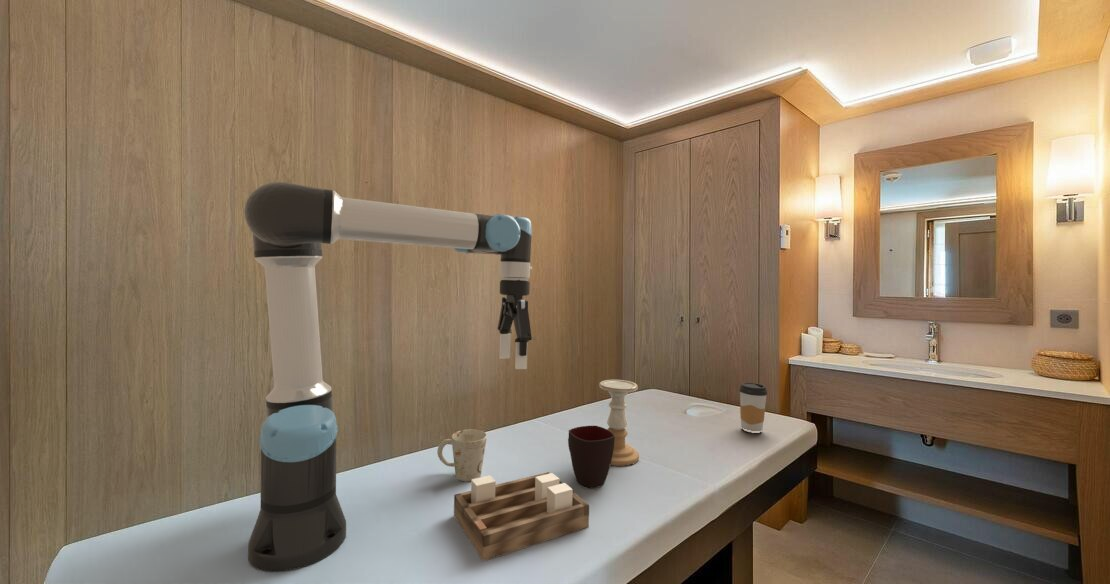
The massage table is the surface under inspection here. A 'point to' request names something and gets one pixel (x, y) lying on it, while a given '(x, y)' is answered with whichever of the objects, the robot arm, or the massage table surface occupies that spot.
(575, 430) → the mug
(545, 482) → the tab mid
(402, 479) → the massage table surface
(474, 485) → the tab far
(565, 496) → the tab near
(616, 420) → the candle holder
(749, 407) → the coffee cup
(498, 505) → the wooden compartment tray
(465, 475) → the mug
